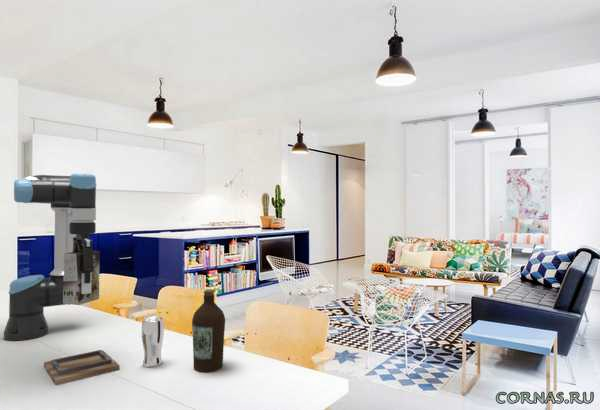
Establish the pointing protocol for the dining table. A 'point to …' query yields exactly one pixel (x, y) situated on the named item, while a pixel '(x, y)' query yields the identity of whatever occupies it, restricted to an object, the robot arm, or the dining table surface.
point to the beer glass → (152, 340)
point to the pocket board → (80, 366)
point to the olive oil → (208, 335)
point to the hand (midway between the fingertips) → (82, 290)
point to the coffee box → (79, 279)
